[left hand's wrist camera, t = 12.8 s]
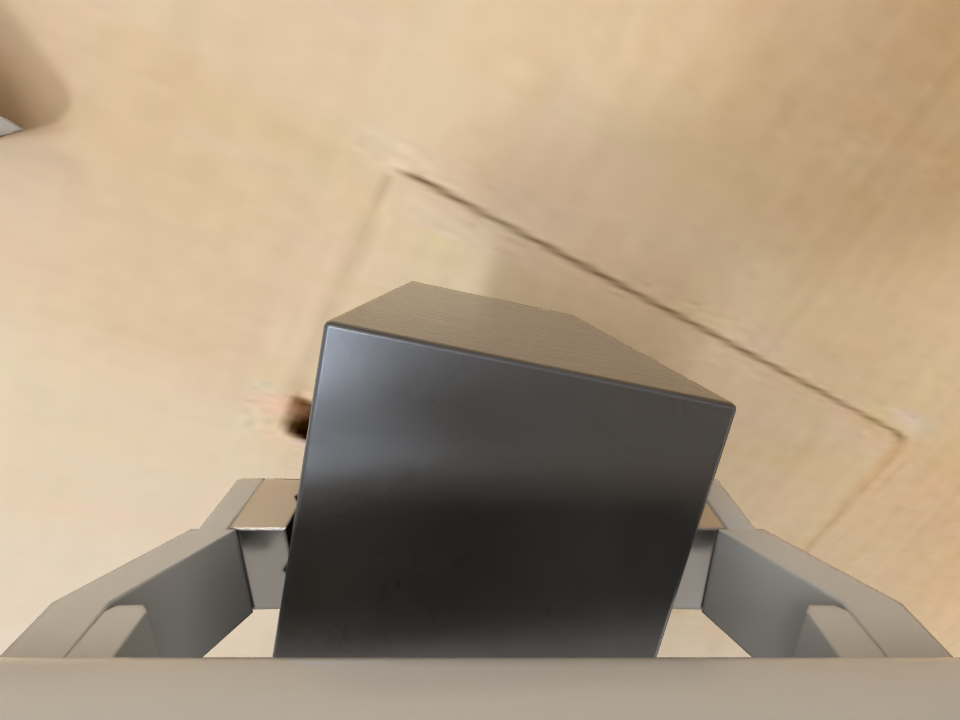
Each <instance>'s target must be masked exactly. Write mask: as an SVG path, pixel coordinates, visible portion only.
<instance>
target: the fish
mask: <svg viewBox="0 0 960 720" xmlns="http://www.w3.org/2000/svg"><path fill="white" fill-rule="evenodd" d="M22 129H23V128H22V127H20V126H18V125H17V124H15V123H13V122H12V121H10V120H9V119H7V118H4V117H2V116H0V137H1V136H5V135H8V134H11V133H14V132H18V131H21V130H22Z"/></svg>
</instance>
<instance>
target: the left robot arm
mask: <svg viewBox="0 0 960 720" xmlns="http://www.w3.org/2000/svg"><path fill="white" fill-rule="evenodd" d="M299 484H300V479H264V478H243V479H240V480H237V481H236V482H235V484H234V485H233V486H232V488H231V489H230V490H229V491H228V493H227V494H226V495H225V497H224V498H223V499H222V500H221V502H220V503H219V504H218V506H217V507H216V508H215V509H214V511H213V512H212V513H211V515H210V516H209V517H208V518H207V520H206V521H205V522H204V524H203V525H202V526H201V527H200V529H191V530H189V531H187V532H185V533H183V534H181V535H179V536H178V537H176V538H174V539H172V540H170V541H168V542H166V543H164V544H162V545H161V546H159V547H157V548H155V549H153V550H151V551H149V552H147V553H145V554H144V555H142V556H140V557H138V558H136V559H134V560H132V561H130V562H128V563H127V564H125V565H123V566H121V567H119V568H117V569H115V570H113V571H111V572H110V573H108V574H106V575H104V576H102V577H100V578H98V579H96V580H94V581H93V582H91V583H89V584H87V585H85V586H83V587H81V588H79V589H78V590H76V591H74V592H72V593H70V594H68V595H66V596H64V597H62V598H61V599H59V600H57V601H55V602H53V603H52V604H51V605H50V606H49V607H48V608H47V609H46V610H45V611H44V612H43V613H42V614H41V615H40V616H39V617H38V618H37V619H36V620H35V621H34V622H33V623H32V624H31V625H30V626H29V627H28V628H27V629H26V630H25V631H24V632H23V633H22V634H21V635H20V636H19V637H18V638H17V639H16V640H15V641H14V642H13V644H12V645H11V646H10V647H9V648H8V649H7V650H6V651H5V652H4V653H3V654H2V655H1V656H0V720H960V657H953V656H952V655H951V654H950V653H949V652H948V651H947V650H946V649H945V648H944V647H943V646H942V645H941V644H940V643H939V642H938V641H937V640H936V639H935V638H934V637H933V636H932V635H931V633H930V632H929V631H928V630H927V629H926V628H925V627H924V626H923V625H922V624H921V623H920V622H919V621H918V620H917V619H916V618H915V617H914V616H913V615H912V614H911V613H910V612H909V611H908V609H907V608H906V607H905V606H904V605H903V604H902V603H900V602H898V601H896V600H894V599H892V598H890V597H889V596H887V595H885V594H883V593H881V592H879V591H877V590H876V589H874V588H872V587H870V586H868V585H866V584H864V583H862V582H861V581H859V580H857V579H855V578H853V577H851V576H849V575H848V574H846V573H844V572H842V571H840V570H838V569H836V568H835V567H833V566H831V565H829V564H827V563H825V562H823V561H821V560H820V559H818V558H816V557H814V556H812V555H810V554H808V553H807V552H805V551H803V550H801V549H799V548H797V547H795V546H794V545H792V544H790V543H788V542H786V541H784V540H782V539H780V538H779V537H777V536H775V535H773V534H771V533H769V532H767V531H766V530H764V529H755V528H754V527H753V525H752V524H751V523H750V522H749V520H748V519H747V518H746V516H745V515H744V514H743V512H742V511H741V510H740V509H739V507H738V506H737V505H736V503H735V502H734V501H733V499H732V498H731V497H730V496H729V494H728V493H727V492H726V490H725V489H724V488H723V486H722V485H721V484H720V482H719V481H718V480H716V479H714V480H713V483H712V486H711V489H710V492H709V495H708V498H707V501H706V504H705V508H704V511H703V514H702V517H701V520H700V523H699V526H698V529H697V532H696V536H695V539H694V542H693V545H692V548H691V551H690V554H689V557H688V560H687V563H686V567H685V570H684V573H683V576H682V579H681V582H680V585H679V588H678V591H677V595H676V598H675V601H674V604H673V607H672V609H702V612H703V613H704V614H705V615H706V616H707V617H708V618H709V619H710V620H712V621H713V622H714V623H715V624H716V625H717V626H718V627H719V628H720V629H721V630H723V631H724V632H725V633H726V634H727V635H728V636H729V637H730V638H731V639H733V640H734V641H735V642H736V643H737V644H738V645H739V646H740V647H741V648H742V649H744V650H745V651H746V652H747V653H748V654H749V655H750V656H751V657H752V658H464V657H256V658H202V657H203V656H204V655H205V654H207V653H208V652H209V651H210V650H211V649H212V648H213V647H214V646H216V645H217V644H218V643H219V642H220V641H221V640H222V639H223V638H224V637H226V636H227V635H228V634H229V633H230V632H231V631H232V630H233V629H235V628H236V627H237V626H238V625H239V624H240V623H241V622H242V621H243V620H245V619H246V618H247V617H248V616H249V615H250V614H251V613H252V612H253V609H280V606H281V600H282V593H283V587H284V580H285V574H286V567H287V561H288V555H289V548H290V542H291V535H292V529H293V523H294V516H295V510H296V503H297V497H298V490H299Z"/></svg>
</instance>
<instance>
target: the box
mask: <svg viewBox="0 0 960 720" xmlns="http://www.w3.org/2000/svg"><path fill="white" fill-rule="evenodd" d="M735 411H736V406H735V405H734V404H733V403H731V402H729V401H727V400H726V399H724V398H722V397H720V396H718V395H717V394H715V393H713V392H711V391H709V390H707V389H706V388H704V387H702V386H700V385H698V384H697V383H695V382H693V381H691V380H689V379H687V378H686V377H684V376H682V375H680V374H678V373H676V372H675V371H673V370H671V369H669V368H667V367H666V366H664V365H662V364H660V363H658V362H656V361H655V360H653V359H651V358H649V357H647V356H646V355H644V354H642V353H640V352H638V351H636V350H635V349H633V348H631V347H629V346H627V345H625V344H624V343H622V342H620V341H618V340H616V339H615V338H613V337H611V336H609V335H607V334H605V333H604V332H602V331H600V330H598V329H596V328H595V327H593V326H591V325H589V324H587V323H585V322H584V321H582V320H580V319H578V318H576V317H574V316H573V315H569V314H564V313H559V312H555V311H550V310H545V309H541V308H536V307H531V306H526V305H522V304H517V303H512V302H508V301H503V300H498V299H493V298H489V297H484V296H479V295H475V294H470V293H465V292H461V291H456V290H451V289H446V288H442V287H437V286H432V285H428V284H423V283H418V282H414V281H412V282H409V283H407V284H405V285H403V286H401V287H399V288H397V289H395V290H393V291H390V292H388V293H386V294H384V295H382V296H380V297H378V298H376V299H373V300H371V301H369V302H367V303H365V304H363V305H361V306H359V307H357V308H354V309H352V310H350V311H348V312H346V313H344V314H342V315H340V316H338V317H335V318H333V319H331V320H329V321H327V322H326V324H325V325H324V330H323V336H322V343H321V349H320V356H319V362H318V368H317V375H316V381H315V388H314V394H313V400H312V407H311V413H310V420H309V426H308V433H307V439H306V445H305V452H304V458H303V465H302V471H301V478H300V484H299V490H298V497H297V503H296V510H295V516H294V523H293V529H292V535H291V542H290V548H289V555H288V561H287V567H286V574H285V580H284V587H283V593H282V600H281V606H280V612H279V619H278V625H277V632H276V638H275V645H274V651H273V657H464V658H656V657H657V654H658V650H659V647H660V644H661V641H662V638H663V635H664V632H665V629H666V626H667V622H668V619H669V616H670V613H671V610H672V607H673V604H674V601H675V598H676V595H677V591H678V588H679V585H680V582H681V579H682V576H683V573H684V570H685V567H686V563H687V560H688V557H689V554H690V551H691V548H692V545H693V542H694V539H695V536H696V532H697V529H698V526H699V523H700V520H701V517H702V514H703V511H704V508H705V504H706V501H707V498H708V495H709V492H710V489H711V486H712V483H713V480H714V477H715V473H716V470H717V467H718V464H719V461H720V458H721V455H722V452H723V449H724V445H725V442H726V439H727V436H728V433H729V430H730V427H731V424H732V421H733V418H734V414H735Z"/></svg>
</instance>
